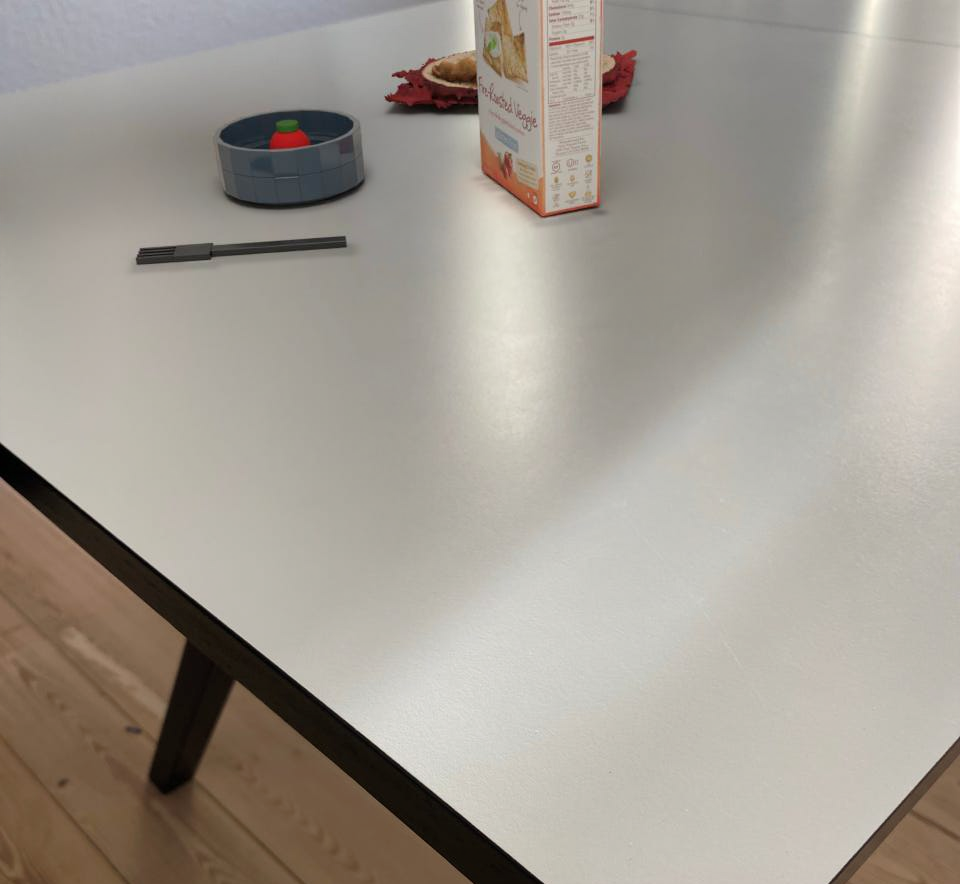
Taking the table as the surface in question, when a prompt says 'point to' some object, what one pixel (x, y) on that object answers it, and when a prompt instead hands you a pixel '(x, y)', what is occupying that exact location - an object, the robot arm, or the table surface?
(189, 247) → the fork
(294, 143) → the red rounded piece
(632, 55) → the plate with food
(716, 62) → the table surface
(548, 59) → the cracker box
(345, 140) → the bowl
